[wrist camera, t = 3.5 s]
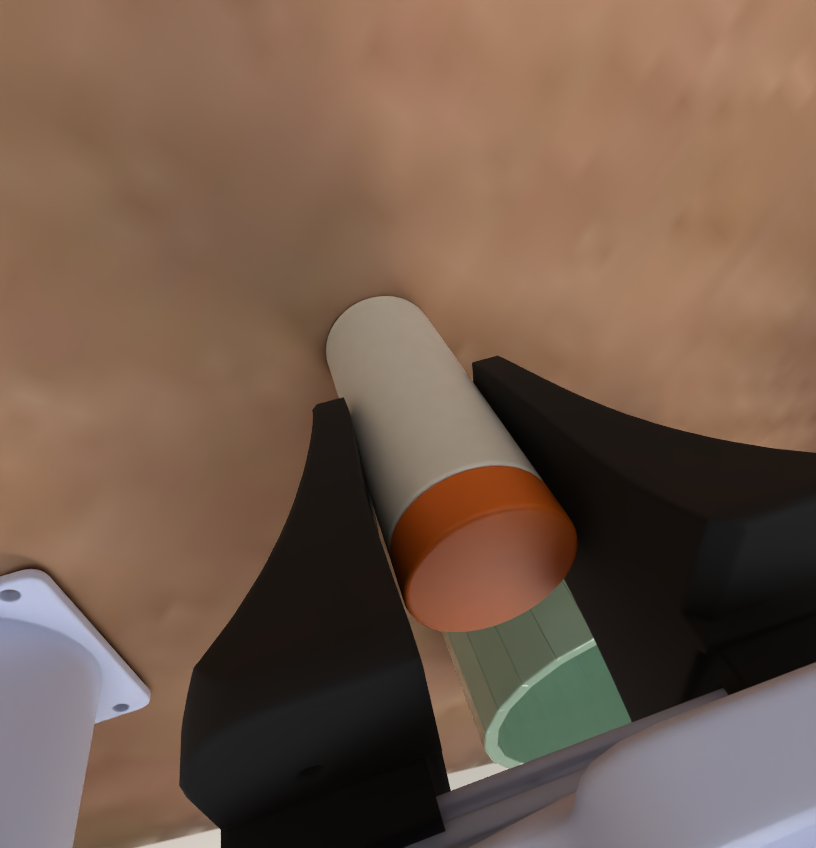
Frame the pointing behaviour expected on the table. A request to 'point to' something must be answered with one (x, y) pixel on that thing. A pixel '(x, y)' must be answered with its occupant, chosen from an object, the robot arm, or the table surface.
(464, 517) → the glue stick
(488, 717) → the mug
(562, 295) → the table surface
